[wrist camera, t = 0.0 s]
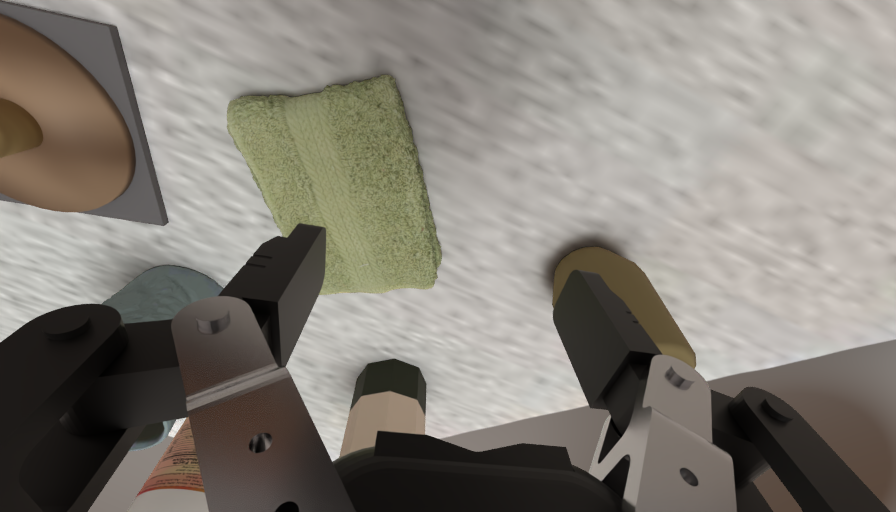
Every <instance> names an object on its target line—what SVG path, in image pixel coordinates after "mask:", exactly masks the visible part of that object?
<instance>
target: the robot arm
mask: <svg viewBox="0 0 896 512" xmlns="http://www.w3.org/2000/svg"><path fill="white" fill-rule="evenodd" d="M325 263H326V228H325V227H321V226H315V225H309V224H303V223H299V224H297V226H296V227H295V228H294V230H293V231H292V232H291V234H290V235H289V236H288V237H287V238H286V237H280V236H277V237H275V238H273V239H271V240H269V241H267V242H265V243H263V244H262V245H261V246H260V247H259V248H258V249H257V251H256V252H255V253H254V254H253V256H251V258H250V259H249V260H248V261H247V262H246V265H244V266H243V267H242V268H241V269H240V270H239V272H238V273H237V274H236V275H235V276H234V277H233V279H232V280H231V281H230V282H229V283H228V284H227V286H226V287H225V288H224V289H223V290H222V291H221V293H220V294H219V295H218V296H216V297H209V298H205V299H201V300H198V301H195V302H193V303H191V304H189V305H187V306H186V307H184V308H182V309H181V310H180V311H179V312H178V313H177V314H176V315H175V316H174V318H173V319H168V320H159V321H148V322H136V323H125V324H124V323H123V320H122V318H121V315H120V313H119V312H118V311H117V310H116V309H115V308H113V307H110V306H107V305H101V304H81V305H74V306H69V307H64V308H61V309H57V310H54V311H51V312H48V313H46V314H43V315H41V316H39V317H37V318H35V319H33V320H31V321H29V322H28V323H26V324H25V325H23V326H22V327H21V328H19V329H18V330H17V331H15V332H14V333H13V334H11V335H10V336H9V337H7V338H6V339H5V340H3V341H2V342H1V343H0V512H88V510H89V509H90V507H91V506H92V504H93V503H94V501H95V500H96V498H97V497H98V495H99V494H100V492H101V491H102V490H103V488H104V486H105V485H106V484H107V482H108V481H109V479H110V478H111V476H112V475H113V473H114V472H115V470H116V469H117V467H118V466H119V464H120V463H121V461H122V460H123V458H124V457H125V456H126V454H127V453H128V451H129V450H130V448H131V447H132V445H133V444H134V442H135V441H136V440H137V438H138V437H139V435H140V434H141V432H142V431H143V429H144V428H145V426H146V425H148V424H154V423H159V422H164V421H170V420H175V419H180V418H186V417H189V421H190V426H191V431H192V435H193V440H194V445H195V449H196V454H197V459H198V463H199V468H200V473H201V477H202V482H203V487H204V491H205V496H206V501H207V505H208V510H209V512H773V511H772V509H771V508H770V507H769V505H768V503H767V502H766V500H765V499H764V498H763V496H762V495H761V493H760V492H759V490H758V489H757V487H756V486H755V484H754V483H753V481H754V480H755V479H756V478H758V477H759V476H760V475H762V474H763V473H764V472H766V471H767V470H768V469H770V468H772V469H773V471H774V472H775V473H776V475H777V476H778V477H779V479H780V480H781V482H783V484H784V486H785V487H786V488H787V490H788V491H789V492H790V494H791V495H792V496H793V498H794V499H795V500H796V502H797V503H798V504H799V506H800V507H801V508H802V511H803V512H890V511H889V510H888V509H887V507H886V506H885V505H884V504H883V503H882V502H881V501H880V500H879V499H878V498H877V497H876V496H875V495H874V494H873V492H872V491H871V490H870V489H869V488H868V487H867V486H866V485H865V484H864V483H863V482H862V481H861V480H860V479H859V477H858V476H857V475H856V474H855V473H854V472H853V471H852V470H851V469H850V468H849V467H848V466H847V465H846V464H845V462H844V461H843V460H842V459H841V458H840V457H839V456H838V455H837V454H836V453H835V452H834V451H833V450H832V449H831V448H830V446H828V444H827V443H826V442H825V441H824V440H823V439H822V438H821V437H820V436H819V435H818V434H817V432H816V431H815V430H814V429H813V428H812V427H811V426H810V425H809V424H808V423H807V422H806V421H805V420H804V419H803V418H802V416H801V415H800V414H799V413H797V411H796V410H794V409H793V408H792V407H791V406H790V405H788V404H787V403H785V402H784V401H783V400H781V399H780V398H778V397H776V396H775V395H773V394H771V393H769V392H767V391H765V390H762V389H759V388H755V387H746V388H744V389H743V390H742V391H741V392H740V393H739V394H738V395H737V396H736V397H735V398H732V397H729V396H726V395H724V394H721V393H718V392H716V391H713V390H710V387H709V385H708V384H707V382H706V381H705V379H704V378H703V377H702V376H701V375H700V374H699V373H698V372H697V371H696V370H695V369H693V368H692V367H691V366H689V365H688V364H686V363H685V362H683V361H681V360H679V359H677V358H674V357H671V356H668V355H663V354H662V353H661V351H660V350H659V349H658V347H657V346H656V344H655V343H654V342H653V340H652V339H651V338H650V336H649V335H648V334H647V332H646V331H645V329H644V328H643V327H642V325H641V324H639V321H638V320H637V319H636V317H635V316H634V314H632V312H631V310H630V309H629V308H628V306H627V305H626V304H625V302H624V301H623V300H622V299H621V298H620V297H618V296H617V295H616V294H615V293H614V292H612V291H611V290H610V289H609V287H608V286H607V284H606V283H605V282H604V280H603V279H602V277H601V276H600V275H599V274H598V273H594V272H588V271H582V270H573V271H572V272H571V273H570V275H569V277H568V279H567V281H566V283H565V285H564V287H563V289H562V291H561V293H560V295H559V297H558V299H557V302H556V304H555V306H554V310H553V321H554V324H555V326H556V329H557V331H558V333H559V336H560V338H561V340H562V343H563V345H564V347H565V350H566V352H567V354H568V357H569V359H570V361H571V364H572V366H573V369H574V371H575V373H576V376H577V378H578V380H579V383H580V385H581V387H582V390H583V392H584V394H585V397H586V399H587V401H588V404H589V406H590V408H596V409H606V410H608V411H609V413H610V416H609V417H608V418H607V420H606V421H605V423H604V426H603V429H602V432H601V436H600V439H599V442H598V445H597V448H596V451H595V455H594V458H593V461H592V464H591V467H590V471H589V473H588V472H586V471H584V470H582V469H580V468H578V467H576V466H574V465H572V464H571V462H570V458H569V455H568V452H567V449H566V447H557V446H546V445H535V444H524V443H522V444H517V445H512V446H507V447H502V448H497V449H492V450H488V451H483V452H474V451H471V450H467V449H465V448H462V447H459V446H457V445H454V444H451V443H448V442H445V441H442V440H440V439H437V438H434V437H431V436H428V435H423V434H411V433H400V432H389V431H377V436H376V441H375V446H373V447H368V448H363V449H360V450H357V451H354V452H351V453H349V454H347V455H344V456H342V457H340V458H338V459H336V460H335V461H333V462H332V461H331V458H330V456H329V454H328V452H327V450H326V448H325V446H324V444H323V442H322V440H321V438H320V435H319V433H318V431H317V429H316V427H315V425H314V423H313V421H312V419H311V417H310V415H309V413H308V410H307V408H306V406H305V404H304V402H303V400H302V398H301V396H300V394H299V392H298V390H297V387H296V385H295V383H294V381H293V379H292V377H291V375H290V373H289V371H288V370H287V368H286V365H287V362H288V360H289V358H290V356H291V354H292V351H293V349H294V347H295V345H296V343H297V341H298V338H299V336H300V334H301V332H302V330H303V328H304V325H305V323H306V321H307V319H308V317H309V315H310V312H311V310H312V308H313V306H314V304H315V302H316V299H317V297H318V295H319V293H320V291H321V288H322V285H323V281H324V276H325Z"/></svg>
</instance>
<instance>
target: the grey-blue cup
mask: <svg viewBox="0 0 896 512" xmlns="http://www.w3.org/2000/svg"><path fill="white" fill-rule="evenodd" d="M222 290H223V288H222V287H221V286H220V285H219V284H217V283H216V281H214V280H213V279H210V278H208V277H207V276H206V275H203V274H202V273H199V272H197V271H193V270H191V269H188V268H182V267H179V266H178V267H176V266H170V265H167V266H159V267H155V268H152V269H150V270H147V271H145V272H144V273H142V274H141V275H139V276H138V277H137V278H135V279H134V280H133V281H132V282H130V283H129V284H128V285H126V286H125V287H124V288H123V289H122V290H120V291H119V292H118V293H116V294H114V295H113V296H112V297H111V298H110V299H107V300H106V301H104V302H103V303H102V304H101V305H107V306H110V307H113V308H115V309H116V310H117V311H118V312H119V313H120V315H121V318H122V320H123V323H124V324H125V323H136V322H148V321H159V320H168V319H173V318H174V316H175V315H176V314H177V313H178V312H179V311H180V310H181V309H182V308H184V307H186V306H187V305H189V304H191V303H193V302H195V301H198V300H201V299H205V298H209V297H216V296H218V295H219V294H220V293H221V291H222ZM175 421H176V419H175V420H170V421H164V422H159V423H154V424H148V425H146V426H145V428H144V429H143V431H142V432H141V434H140V435H139V437H138V438H137V440H136V441H135V442H134V444H133V445H132V447H131V448H130V450H129V451H136V450H142V449H147V448H150V447H152V446H155V445H157V444H159V443H161V442H162V441H163V440H164V439H165V438H166V437H167V436H168V434H169V432H170V430H171V428H172V427H173V425H174V423H175Z"/></svg>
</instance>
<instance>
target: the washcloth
mask: <svg viewBox="0 0 896 512" xmlns="http://www.w3.org/2000/svg"><path fill="white" fill-rule="evenodd" d="M227 121H228V125H227V129H228V132H229V134H230V135H231V137H232V138H233V139H234V144H235V146H236V148H237V149H238V150H239V151H240V152H242V155H243V157H244V158H245V160H246V162H247V165H248V167H249V168H250V171H251V173H252V175H253V180H254V181H255V182H256V184H257V186H258V188H259V189H260V191H262V195H263V198H264V201H265V203H266V204H267V206H268V208H269V209H270V210H271V213H272V215H273V219H274V221H275V223H276V224H277V227H278V228H279V229H280V231H281V232H282V235H283V236H282V237H286V238H287V237H288V236H289V235H290V234H291V232H292V231H293V230H294V228H295V227H296V226H297V224H299V223H303V224H309V225H315V226H321V227H325V228H326V263H325V276H324V281H323V285H322V288H321V291H320V293H319V295H326V294H336V293H356V292H364V293H385V292H388V291H390V290H394V289H400V288H417V289H429V288H432V287H433V286H434V283H435V279H437V278H438V277H437V273H436V272H437V268H438V267H439V266H440V264H441V259H442V254H441V250H440V247H441V246H440V245H439V244H438V240H437V237H436V228H435V225H434V222H433V217H432V214H431V213H432V212H431V210H430V209H429V206H430V203H429V200H428V196H427V190H426V186H425V184H424V181H423V171H422V170H421V166H420V165H419V164H418V152H417V148H416V147H415V146H414V143H413V136H412V130H411V127H410V126H408V125H409V122H408V121H407V120H406V117H405V112H404V107H403V101H402V99H401V96H400V95H399V91H398V90H397V88H396V83H395V79H394V78H393V77H392V76H390V75H381V77H379V78H376V77H372V79H369V80H364V81H362V82H357V81H353V82H352V83H349V85H346V86H341V85H332V86H331V87H330V86H328V85H327V86H326V88H324V90H323V92H320V93H312V94H306V95H301V96H299V97H291V98H290V97H288V96H284V95H277V96H274V95H270V96H269V98H268V97H266V96H258V97H257V96H244V97H243V96H241V97H240V98H239V99H235V100H232V101H230V103H229V105H228V110H227Z"/></svg>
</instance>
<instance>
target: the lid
mask: <svg viewBox="0 0 896 512" xmlns="http://www.w3.org/2000/svg"><path fill="white" fill-rule="evenodd" d="M135 167H136V155H135V148H134V143H133V139H132V137H131V134H130V131H129V128H128V126H127V124H126V122H125V120H124V118H123V116H122V114H121V112H120V111H119V109H118V107H117V106H116V104H115V103H114V101H113V100H112V98H111V97H110V96H109V94H108V93H107V92H106V90H105V89H104V88H103V87H102V85H101V84H100V83H99V82H98V81H97V80H96V79H95V77H94V76H93V75H92V74H91V73H90V72H89V71H88V70H87V69H86V68H85V67H84V66H83V65H82V64H81V63H80V62H78V61H77V60H76V59H75V58H74V57H73V56H71V55H70V54H69V53H68V52H67V51H65V50H64V49H63V48H61V47H60V46H59V45H57V44H56V43H55V42H53V41H52V40H50V39H49V38H48V37H46V36H44V35H43V34H41V33H39V32H38V31H36V30H34V29H33V28H31V27H29V26H27V25H25V24H23V23H21V22H19V21H17V20H15V19H13V18H11V17H8V16H6V15H3V14H0V193H2V194H4V195H6V196H8V197H10V198H13V199H15V200H18V201H20V202H23V203H26V204H29V205H32V206H36V207H39V208H43V209H48V210H53V211H61V212H83V211H89V210H93V209H97V208H99V207H101V206H104V205H106V204H108V203H109V202H111V201H113V200H115V199H117V198H118V197H119V196H121V195H122V194H123V193H124V192H125V191H126V190H127V189H128V187H129V186H130V184H131V182H132V180H133V177H134V174H135Z"/></svg>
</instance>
